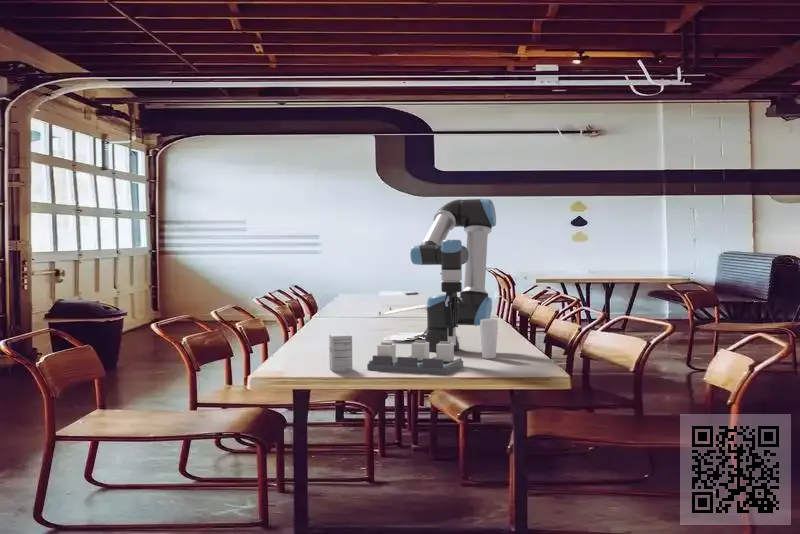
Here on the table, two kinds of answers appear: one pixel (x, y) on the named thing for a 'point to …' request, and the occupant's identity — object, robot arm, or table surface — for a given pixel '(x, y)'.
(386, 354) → the white block
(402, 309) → the portable electronic device stand
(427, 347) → the white block with ridge
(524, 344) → the table surface
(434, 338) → the robot arm
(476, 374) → the table surface
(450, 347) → the switch slider
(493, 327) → the drinking glass
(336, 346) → the supplement box
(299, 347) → the table surface
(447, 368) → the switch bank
